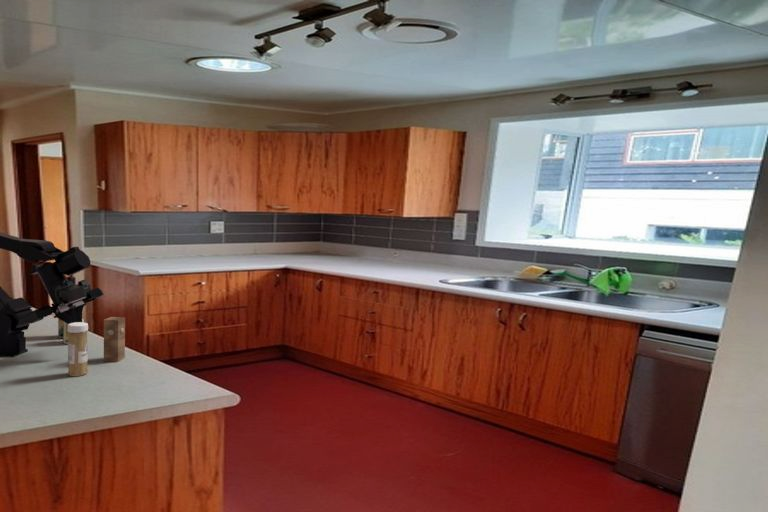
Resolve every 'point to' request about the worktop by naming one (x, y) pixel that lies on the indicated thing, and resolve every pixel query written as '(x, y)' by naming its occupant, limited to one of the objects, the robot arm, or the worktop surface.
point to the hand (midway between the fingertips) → (81, 331)
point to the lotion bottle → (61, 323)
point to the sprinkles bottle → (77, 348)
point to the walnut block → (114, 339)
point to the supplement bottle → (66, 333)
